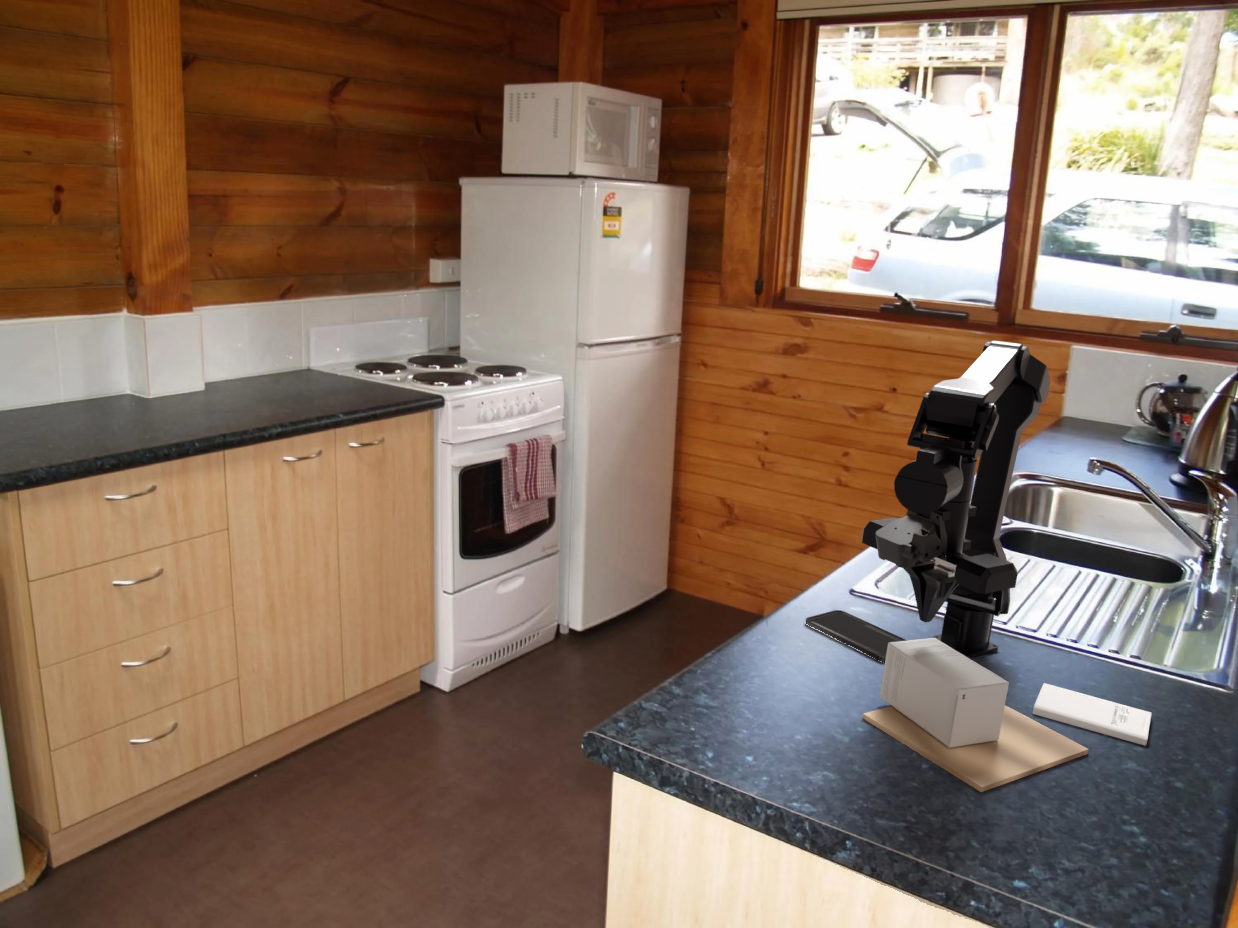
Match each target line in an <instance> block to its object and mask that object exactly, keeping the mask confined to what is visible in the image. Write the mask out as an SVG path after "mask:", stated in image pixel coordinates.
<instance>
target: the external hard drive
mask: <svg viewBox="0 0 1238 928" xmlns="http://www.w3.org/2000/svg"><path fill="white" fill-rule="evenodd" d="M1032 714H1033V715H1035V716H1036V715H1037V716H1040V717H1043V718H1046V719H1051V720H1053V721H1057V722H1061V723H1065V724H1067V725H1070V726H1074V727H1078V728H1082V729H1085V730H1089V731H1093V732H1096V733H1099V734H1103V735H1106V736H1110V737H1114V738H1117V739H1121V740H1124V741H1128V742H1130V743H1134V744H1138V745H1142V746H1145V747H1146V746H1147V743H1148V739H1149V733H1150V732H1149V731H1150V725H1151V721H1152V720H1151V719H1152V714H1153V713H1152V712H1151V711H1147V710H1143V709H1140V708H1136V707H1133V706H1129V705H1125V704H1121V703H1118V702H1114V701H1111V700H1107V699H1103V698H1099V697H1097V696H1096V697H1095V696H1093V695H1091V694H1090V695H1089V694H1085V693H1082V692H1077V691H1076V690H1071V689H1068V688H1065V687H1060V686H1057V685H1053V684H1049V683H1045V682H1043V684H1042V687H1041V688H1040V691H1039V693H1038V696H1037V698H1036V700H1035V703H1034V705H1033V710H1032Z"/></svg>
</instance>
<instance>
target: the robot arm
mask: <svg viewBox="0 0 1238 928" xmlns="http://www.w3.org/2000/svg"><path fill="white" fill-rule="evenodd" d="M1029 349H1030V348H1029V347H1028V346H1025V345H1023V344H1022V343H1014V342H1010V341H1008V342H1007V341H1000V340H992V341H986V342H985V344H984V345H983V349H982V352H981V354H980V355H979V357H977V358H976V359H975V360H974V362H973V363H972V364H971V365H970V366H969V367H968V368H967V369H966V370H965V372H964V373H963V374H962V375H961V376H960V377H958V378H952V379H946V380H945V379H944V380H941V381H940V382H938V383H936V384H934V385H933V386H932V387H931V388H930V390H929V392H926V393H925V394H924V396H923V397H922V400H921V403H920V406H919V409H918V411H917V414H916V416H915V420H914V423H913V425H912V428H911V431H910V433H909V436H908V439H907V442H906V444H907V447H913V448H917V449H918V448H919V449H918V450H917V451H916V457H915V459H914V460H912V461H910V462H909V463H907V464H905V465H903V467H902V468H901V469H900V470H899V471H898V473H897V475H896V476H895V478H894V482H893V485H894V486H893V487H894V488H893V490H894V494H895V496H896V497H895V498H896V499H897V501H898V502H899V503H900V504H901V506H902V507H904V508H905V509H906V510H907V511H906V514H905V516H903V517H899V518H898V517H888V518H881V519H874V520H870V521H869V522H868V523H866V525H865V526H864V527H863V530H862V539H861V543H862V544H863V545H867V546H868V547H870V548H873V549H875V550H877V556H878V558H879V559H881V560H883V561H887V562H890V563H892V564H895V565H896V567H898V568H901V569H903V570H904V571H905V572H906V573H907V574H908V576H909V578H910V581H911V585H912V588H913V589H912V590H913V593H914V597H915V602H916V607H917V613H918V616H919V620H920V622H923V623H925V624H926V623H930V622H932V621H933V619H934V618H935V616H937V613H938V612H939V611H940V610H941V608H942V606H943V605H944V604H945V603H946V609H945V614H944V615H943V621H942V628H941V633H940V634H936V635H933V636H932V638H936V639H938V640H939V641H941V642H943V643H944V644H946V645H948V646H949V647H951V648H953V649H954V650H956V651H958V652H959V653H961V654H963V655H964V656H966V657H967V658H972V657H977V656H979V655H984V654H987V653H991V652H995V651H998V650H999V646H998V645H996V644H995V643H992V642H991V641H990V640H991V635H992V630H993V629H992V628H993V623H994V617H999V616H1000V615H1008V614H1009V610H1010V605H1011V589H1014V588H1016V585H1017V579H1018V569H1017V568H1016V566H1015V564H1014V563H1013V562H1011V561H1008V559H1007V556H1006V554H1005V551H1004V548H1003V545H1002V543H1001V541H1000V540H1001V539H1000V533H1001V529H1002V525H1003V520H1004V517H1005V516H1004V515H1005V511H1006V506H1007V501H1008V497H1009V492H1010V488H1011V483H1012V479H1013V474H1014V470H1015V465H1016V460H1017V455H1018V451H1019V446H1020V442H1021V437H1022V434H1023V432H1024V430H1025V429H1027V427H1028V426H1030V424H1031V423H1032V422H1033V421H1034V420H1035V419H1037V417H1038V416H1039V414H1040V410H1041V406H1042V404H1044V403H1045V402H1046V400H1047V398H1048V396H1049V391H1050V386H1051V378H1050V375H1049V370H1048V366H1047V365H1046V364H1045V363H1043V362H1042V361H1041V360H1039V359H1038V358H1036V357H1035V356H1034V355H1032V354H1031V353H1030V350H1029ZM924 432H925V433H924ZM979 457H980V458H979ZM978 458H979V461H978ZM977 463H978V464H977ZM977 465H978V466H977ZM976 469H977V470H976ZM975 475H976V476H975Z"/></svg>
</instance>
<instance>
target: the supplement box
mask: <svg viewBox="0 0 1238 928" xmlns="http://www.w3.org/2000/svg"><path fill="white" fill-rule="evenodd" d="M881 678H882V679H881V685H880V690H879V697H880V698H881V699H882V700H883V701H885V702H886V703H888V704H890V706H893V707H894V708H896V709H897V710H898V711H900V712H901V713H903V714H904V715H905V716H907V717H908V718H909V719H911V720H912V721H914V722H915V723H916V724H918V725H919V726H920V727H922V728H923V729H925V730H926V731H927V732H929V733H930V734H931V735H933V736H934V737H936V738H937V739H938V740H940V741H941V742H942V743H944V744H945V745H946V746H948V747H949V748H952V747H957V746H964V745H970V744H977V743H983V742H990V741H996V740H999V734H1000V729H1001V724H1002V719H1003V713H1004V707H1005V705H1006V701H1007V695H1008V691H1009V685H1010V682H1009V681H1007V680H1005V679H1004V678H1003V677H1001V676H999V675H998V674H996V673H994V672H993V671H991V670H989V669H988V668H986V667H984V666H982V665H981V664H979V663H977V662H976V661H974V660H972V659H971V658H970V657H966V656H964V655H963V654H961V653H959V652H958V651H956V650H954V649H953V648H951V647H949V646H948V645H946V644H944V643H943V642H941V641H939V640H938V639H936V638H933V637H929V638H920V639H909V640H908V641H898V642H889V643H888V647H887V653H886V659H885V663H884V666H883V672H882V677H881Z"/></svg>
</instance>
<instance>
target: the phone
mask: <svg viewBox="0 0 1238 928" xmlns="http://www.w3.org/2000/svg"><path fill="white" fill-rule="evenodd" d="M805 622H806V624H808V625H809V626H811V627H814V628H815V629H818V630H820V631H822V632H824V633H825V634H828V635H830V636H832V637H833V638H836V639H837V640H839V641H841V642H843V643H846V644H847V645H850V646H852V647H854V648H856V649H858V650H860V651H862V652H863V653H866V654H867V655H869V656H871V657H873V658H875V659H876V660H875V659H874V660H875V661H877V660H879V661H882V662H885V659H886V653H887V647H888V643H889V642H898V641H908V640H907V639H906V638H903V637H901V636H899V635H896V634H894V633H892V632H890V631H888V630H885V629H883V628H882V627H879V626H877V625H875V624H872V623H870V622H868V621H866V620H864V619H862V618H860V617H857V616H855V615H853V614H851V613H848V612H846V611H844V610H840V609H839V610H837V609H835V610H831V611H828V612H823V613H820V614H816V615H812V616H808V617H805ZM863 653H862V654H863ZM867 655H866V656H867ZM869 656H868V657H869ZM871 657H870V658H871ZM873 658H872V659H873ZM879 661H878V662H879ZM882 662H881V663H882Z"/></svg>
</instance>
